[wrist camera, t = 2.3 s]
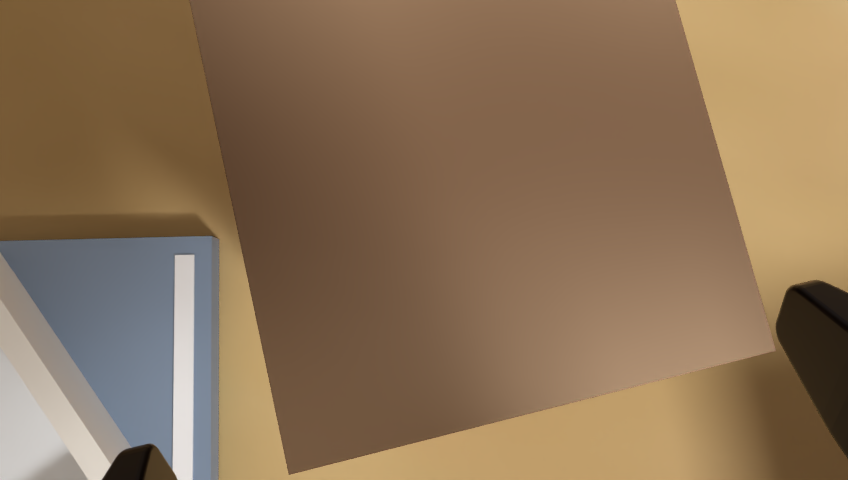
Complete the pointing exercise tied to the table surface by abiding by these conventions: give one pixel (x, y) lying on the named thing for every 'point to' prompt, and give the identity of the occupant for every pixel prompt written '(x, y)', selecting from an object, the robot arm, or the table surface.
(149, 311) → the blueprint board
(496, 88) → the pillar
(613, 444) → the table surface
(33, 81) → the table surface
